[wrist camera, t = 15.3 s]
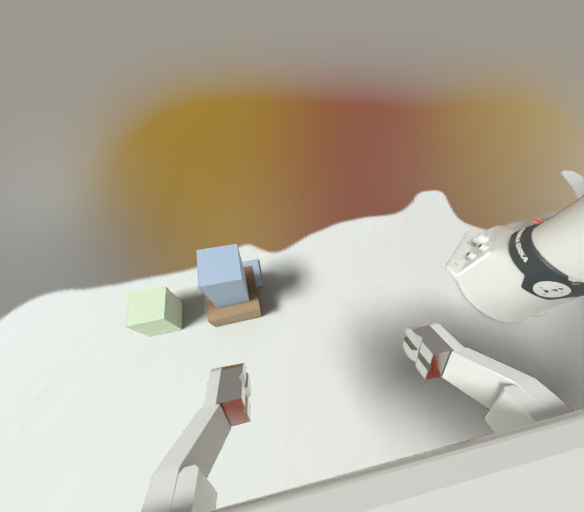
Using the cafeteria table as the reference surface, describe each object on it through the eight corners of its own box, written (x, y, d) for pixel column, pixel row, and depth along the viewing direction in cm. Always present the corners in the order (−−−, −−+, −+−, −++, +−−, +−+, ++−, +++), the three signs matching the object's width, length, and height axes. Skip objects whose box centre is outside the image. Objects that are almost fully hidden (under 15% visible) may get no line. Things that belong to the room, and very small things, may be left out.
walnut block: (212, 284, 41) (205, 274, 36) (254, 276, 42) (252, 265, 38) (215, 327, 37) (208, 321, 33) (261, 316, 39) (260, 310, 34)
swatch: (228, 265, 44) (227, 264, 43) (257, 260, 45) (257, 259, 44) (231, 292, 41) (230, 292, 40) (262, 286, 42) (262, 285, 41)
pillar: (215, 279, 36) (196, 250, 27) (245, 273, 37) (236, 243, 28) (217, 308, 34) (198, 287, 25) (249, 301, 35) (241, 278, 26)
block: (152, 308, 38) (130, 293, 32) (182, 302, 39) (165, 286, 33) (150, 336, 36) (125, 326, 30) (182, 329, 37) (163, 318, 31)
